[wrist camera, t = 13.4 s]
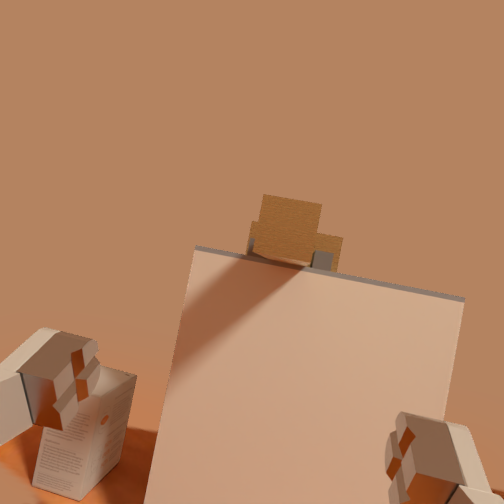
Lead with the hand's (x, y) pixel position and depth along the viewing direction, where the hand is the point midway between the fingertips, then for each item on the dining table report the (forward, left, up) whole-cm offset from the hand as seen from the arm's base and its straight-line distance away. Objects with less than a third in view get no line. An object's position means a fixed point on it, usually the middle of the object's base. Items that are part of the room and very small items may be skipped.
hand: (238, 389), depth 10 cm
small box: (+18, -29, -23) cm, 41 cm away
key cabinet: (-3, -30, -22) cm, 38 cm away
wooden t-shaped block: (0, -22, +4) cm, 22 cm away
